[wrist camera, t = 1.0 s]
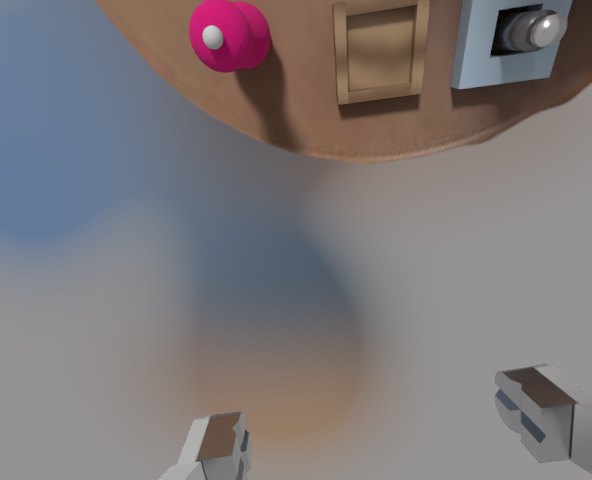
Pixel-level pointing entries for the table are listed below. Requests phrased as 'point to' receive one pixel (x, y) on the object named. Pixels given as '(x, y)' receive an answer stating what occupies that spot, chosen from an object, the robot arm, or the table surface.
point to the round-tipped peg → (529, 30)
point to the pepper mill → (229, 35)
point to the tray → (379, 48)
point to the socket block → (478, 42)
